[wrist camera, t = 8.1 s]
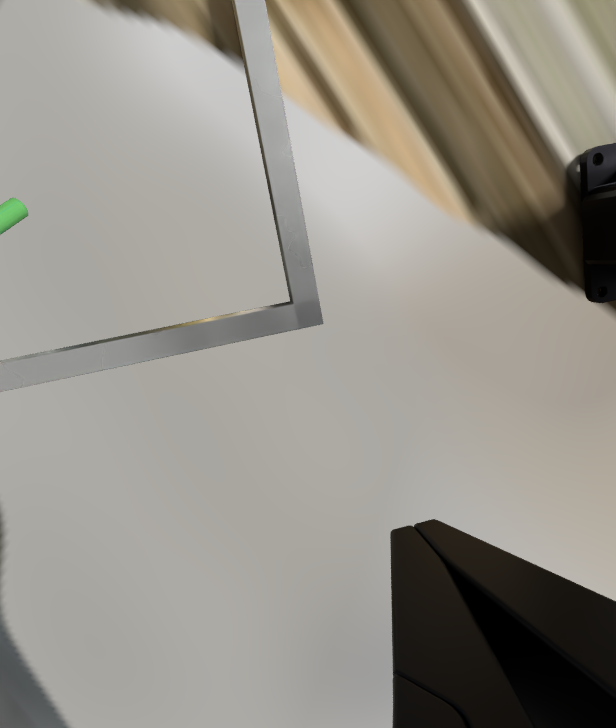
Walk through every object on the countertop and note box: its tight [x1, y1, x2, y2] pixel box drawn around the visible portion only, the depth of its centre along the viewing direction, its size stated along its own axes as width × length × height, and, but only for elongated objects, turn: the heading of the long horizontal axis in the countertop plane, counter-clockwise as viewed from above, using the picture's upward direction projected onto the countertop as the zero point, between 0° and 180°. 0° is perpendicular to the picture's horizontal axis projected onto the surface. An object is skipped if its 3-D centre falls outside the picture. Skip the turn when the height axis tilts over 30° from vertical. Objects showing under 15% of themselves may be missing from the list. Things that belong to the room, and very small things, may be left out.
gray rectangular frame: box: [0, 0, 323, 392], centre depth 16 cm, size 18×15×1 cm
